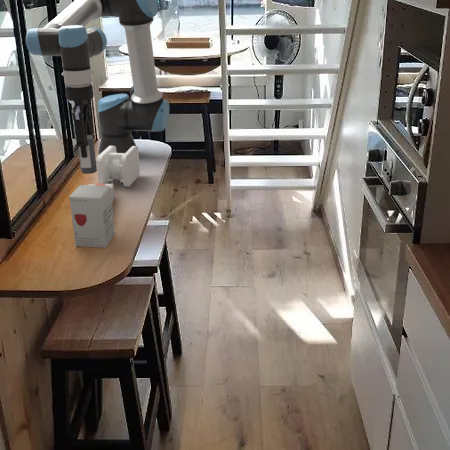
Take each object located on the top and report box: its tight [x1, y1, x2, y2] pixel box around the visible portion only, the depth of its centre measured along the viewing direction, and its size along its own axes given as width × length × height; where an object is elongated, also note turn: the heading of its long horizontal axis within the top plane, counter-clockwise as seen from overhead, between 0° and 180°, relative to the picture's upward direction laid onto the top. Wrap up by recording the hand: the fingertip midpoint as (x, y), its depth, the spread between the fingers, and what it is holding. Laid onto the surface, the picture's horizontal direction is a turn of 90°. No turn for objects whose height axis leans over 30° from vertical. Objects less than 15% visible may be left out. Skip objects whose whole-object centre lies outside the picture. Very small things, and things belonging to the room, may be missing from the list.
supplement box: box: [68, 184, 116, 249], centre depth 167 cm, size 9×9×15 cm
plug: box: [77, 135, 98, 175], centre depth 177 cm, size 5×5×10 cm
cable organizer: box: [96, 145, 141, 188], centre depth 208 cm, size 15×11×12 cm
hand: (88, 164), depth 178 cm, fingers closed on plug, 4 cm apart
